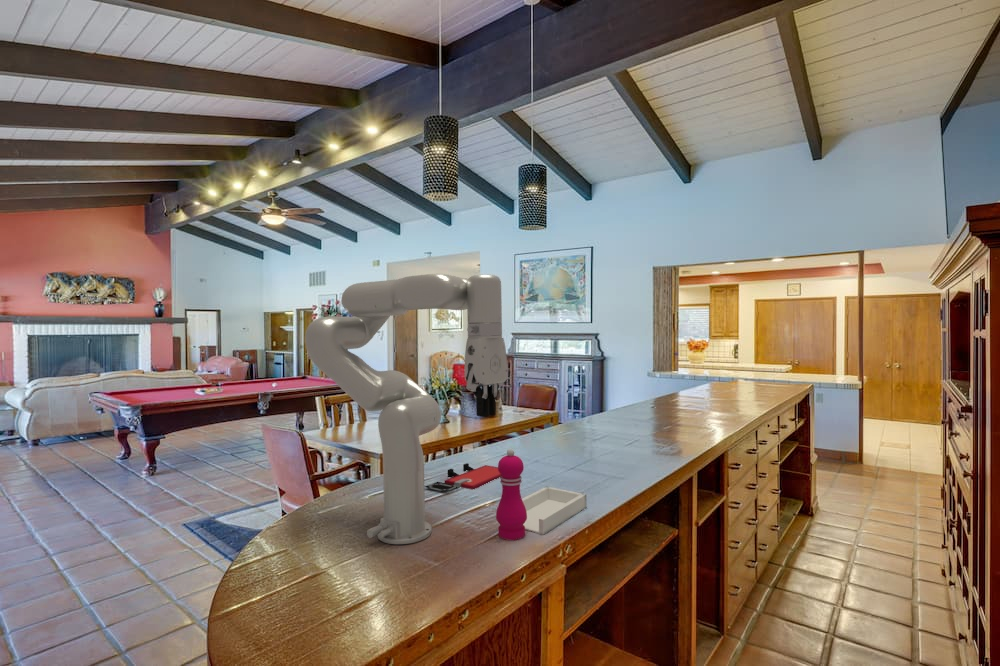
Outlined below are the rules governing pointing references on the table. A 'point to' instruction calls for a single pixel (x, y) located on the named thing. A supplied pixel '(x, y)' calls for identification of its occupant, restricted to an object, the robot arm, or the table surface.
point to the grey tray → (551, 508)
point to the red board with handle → (467, 478)
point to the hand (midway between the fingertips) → (486, 415)
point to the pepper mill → (511, 498)
